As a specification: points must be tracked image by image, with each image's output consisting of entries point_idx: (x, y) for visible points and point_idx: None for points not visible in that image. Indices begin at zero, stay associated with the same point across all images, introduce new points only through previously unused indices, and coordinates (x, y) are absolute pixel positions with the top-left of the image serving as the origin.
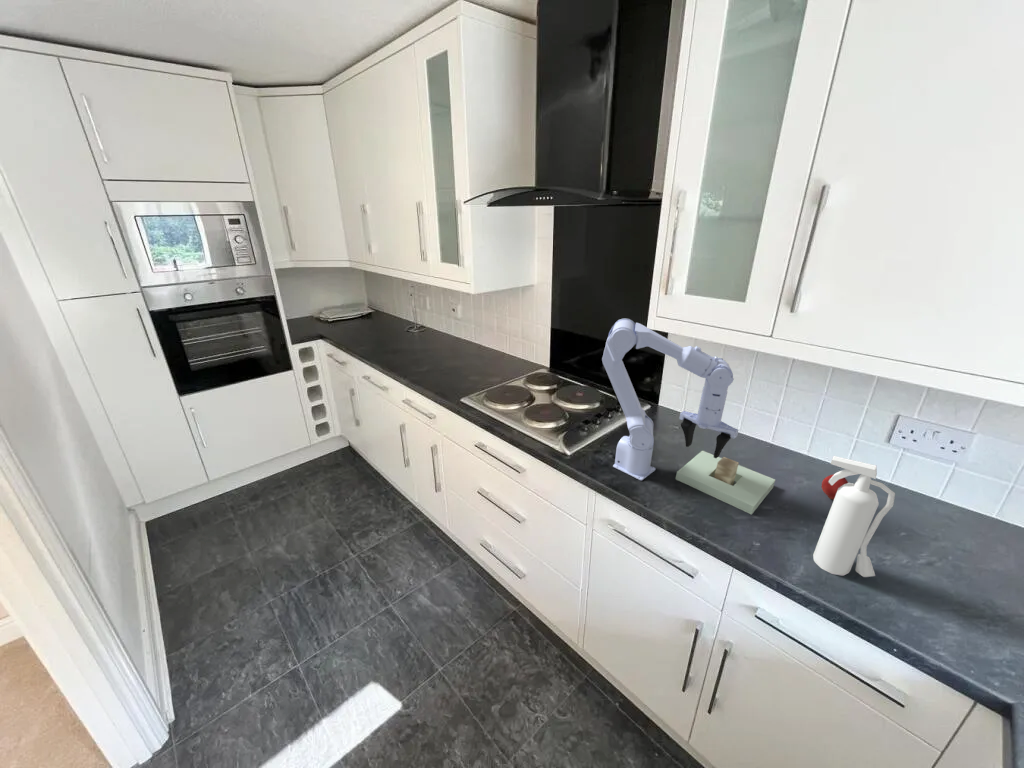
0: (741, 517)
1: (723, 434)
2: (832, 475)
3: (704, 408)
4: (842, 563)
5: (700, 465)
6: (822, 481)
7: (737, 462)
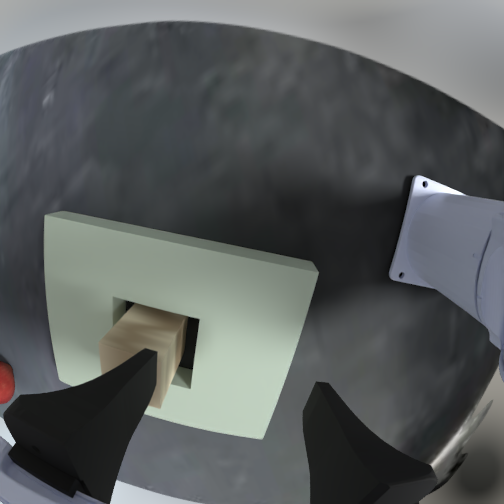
0: (79, 177)
1: (51, 473)
2: None
3: None
4: None
5: (244, 365)
6: (8, 391)
7: None
